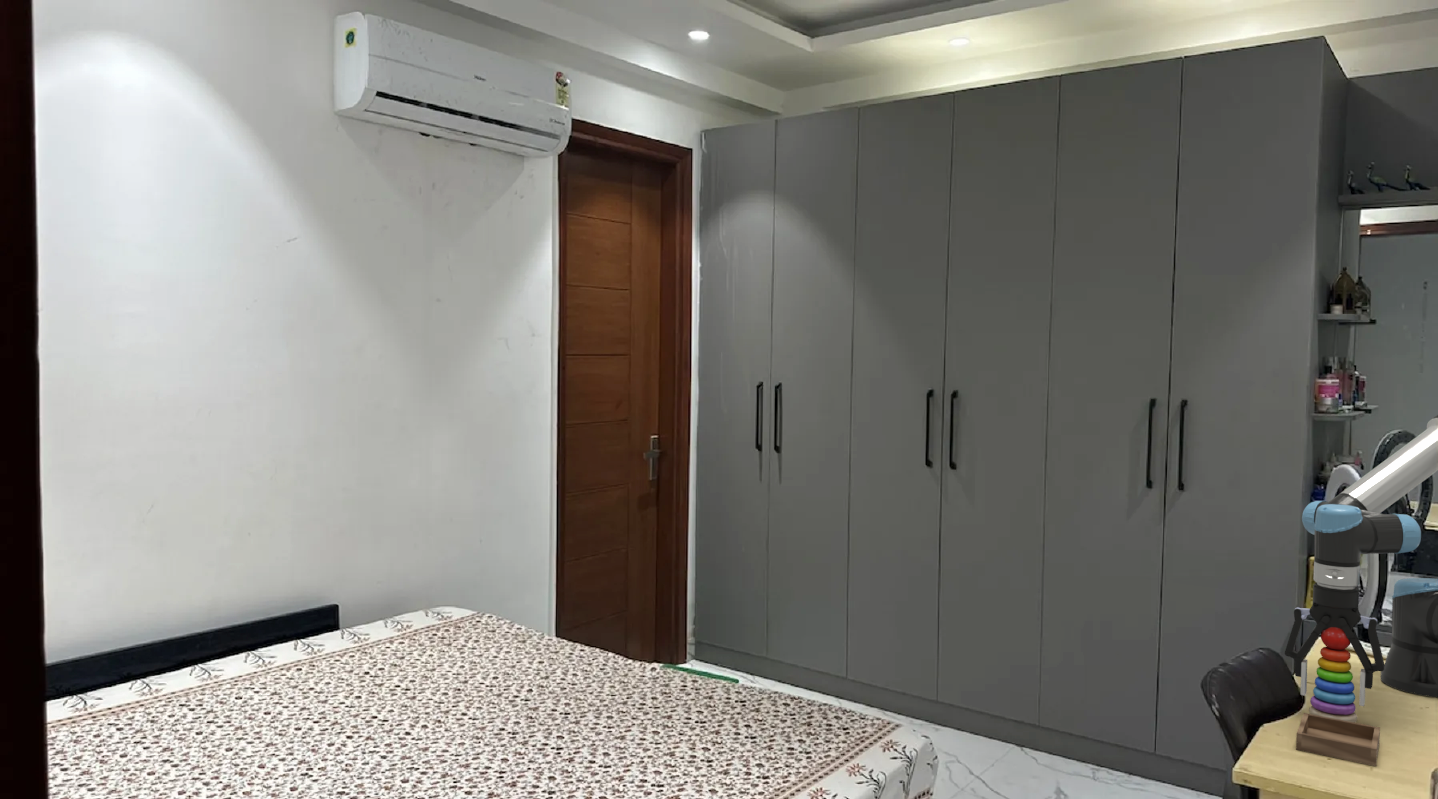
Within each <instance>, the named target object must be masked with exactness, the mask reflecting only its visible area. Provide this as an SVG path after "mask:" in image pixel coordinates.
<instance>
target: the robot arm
mask: <svg viewBox="0 0 1438 799" xmlns="http://www.w3.org/2000/svg"><path fill="white" fill-rule="evenodd" d="M1437 472H1438V414H1437V415H1436V416H1433V418H1431V419H1429V421H1428V422H1427V424H1426V429H1425V430H1424V431H1423V432H1421V433H1419V435H1417V436H1416V437H1414V438H1413V439H1411V441H1409V442H1407V443H1406V444H1405V445H1404V446H1402V447H1401V448H1400V449H1398V450H1397V451H1395V452H1394V453H1393V454H1392V455H1390V456H1389V457H1387V458H1386V459H1385V460H1384V461H1382V462H1381V463H1380V464H1378V465H1376V466H1375V467H1374V468H1372V469H1371V470H1370V471H1369V472H1367V473H1366V474H1365V475H1363V476H1362V477H1361V478H1358V480H1356V481H1355V482H1353V483H1352V484H1351V485H1350V486H1348V487H1347V488H1345V489H1344V490H1343V491H1341V492H1340V493H1339V494H1338V495H1336V496H1335V497H1333V498H1332V499H1331V500H1329V501H1326V500H1315V501H1311V502H1310V503H1308V504H1307V505H1306V506H1305V507H1304V509H1303V512H1302V516H1301V521H1302V525H1303V527H1304V529H1305V530H1306V531H1307V532H1308V533H1310V534H1312V535H1314V559H1313V581H1314V582H1315V583H1314V584H1313V586H1312V589H1313V590H1312V605H1311V606H1310V608H1302V607H1301V606H1296V607H1295V608H1294V611H1293V616H1294V621H1293V625H1292V629H1291V632H1290V634H1289V638H1288V641H1287V645H1286V646H1285V647H1286V648H1285V650H1284V655H1285V656H1286V657H1289V658H1292V659H1293V660H1294V675H1295V677H1297V678H1300V695H1301V696H1306V695H1307V691H1308V690H1307V686H1308V683H1307V681H1308V659H1307V658H1305V659H1304V657H1306V655H1307V653H1308V652H1309V651H1310V649H1311V647H1312V646H1313V645H1314V643H1315V642H1316V640H1317V639H1318V637H1319V636H1321V632H1322V630H1326V629H1328V628H1331V627H1336V628H1340V629H1342V630H1343V631H1344V632H1345V634H1346V636H1347V638H1348V639H1349V641H1350V645H1351V646H1352V648H1353V650H1354V652H1355V654H1356V656H1357V658H1358V660H1359V662H1360V663H1361V665H1362V668H1360V673H1359V674H1360V676H1359V702H1358V705H1359V706H1361V707H1365V703H1366V689H1368V690H1371V689H1372V688H1373V681H1374V680H1373V679H1374V676H1373V675H1374V673H1376V672H1380V681H1381V682H1382V683H1384V684H1385V685H1387V686H1389V687H1390V688H1392V689H1393V688H1394V689H1396V690H1398V691H1403V692H1406V693H1409V694H1413V695H1418V696H1425V697H1433V698H1438V578H1433V577H1432V578H1431V577H1430V578H1429V577H1427V578H1426V577H1410V578H1409V577H1408V578H1401V579H1398V580H1397V581H1396V582H1395V583H1394V586H1393V593H1392V596H1391V597H1392V608H1391V609H1392V612H1391V613H1392V614H1391V616H1392V617H1391V646H1390V648H1389V651H1388V653H1387V656H1386V658H1385V661H1384V656H1383V653H1382V649H1381V645H1380V640H1379V636H1378V632H1377V625H1378V618H1377V617H1375V616H1371V617H1369V616H1364V615H1362V614H1361V613H1360V610H1359V604H1360V603H1359V602H1360V599H1359V597H1360V589H1358V586H1359V585H1360V575H1361V574H1360V572H1361V570H1360V569H1361V555H1371V554H1372V555H1373V554H1374V555H1377V554H1395V555H1397V554H1401V553H1402V554H1403V553H1409V552H1413V551H1415V550H1416V549H1417V548H1418V547H1419V545H1420V544H1421V538H1422V531H1421V527H1420V525H1419V523H1418V522H1417V520H1416V519H1415V518H1413V517H1412V516H1410V515H1408V514H1406V513H1405V514H1403V513H1401V514H1399V513H1390V514H1389V513H1388V514H1386V513H1382V512H1384V511H1385V510H1387V508H1389V507H1391V505H1393V504H1394V503H1396V502H1397V501H1399V500H1400V499H1401V498H1403V497H1404V496H1406V495H1407V494H1408V493H1409V492H1411V491H1412V490H1414V489H1415V488H1417V487H1418V486H1419V485H1420V484H1421V483H1423V482H1424V481H1426V480H1427V479H1429V478H1430V477H1431V476H1432V475H1434V474H1435V473H1437ZM1309 615H1310V616H1311V618H1312V619H1313V620H1314V621H1315V623H1316V625H1315V626H1314V628H1313V629H1312V631H1311V633H1310V634H1309V635H1308V637H1307V638H1306V640H1305V641H1304V643H1303V644H1302V645H1301V646H1300V648H1299V649H1298V651H1296V650H1295V646H1296V643H1297V640H1298V637H1299V635H1300V631H1301V628H1302V625H1303V621H1305V620H1306V619H1307V617H1308V616H1309ZM1359 622H1361V623H1362V624H1363V628H1364V629H1367V634H1368V639H1369V643H1370V648H1371V651H1372V655H1373V659H1374V663H1372V661H1371V660H1370V657H1369V655H1368V654H1367V652H1366V650H1365V648H1364V646H1363V644H1362V643H1361V640H1360V639H1359V637H1358V635H1357V632H1356V631H1355V629H1354V628H1355V627H1356V626H1357V625H1358V624H1359Z"/></svg>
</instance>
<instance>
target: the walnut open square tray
mask: <svg viewBox="0 0 1438 799" xmlns="http://www.w3.org/2000/svg"><path fill="white" fill-rule="evenodd" d="M1380 734H1381V727H1379V726H1374V725H1369V724H1365V723H1359V722H1355V723H1354V722H1349V721H1344V720H1339V719H1333V718H1328V717H1323V716H1318V715H1313V714H1310V713H1306V712H1303V715H1302V718H1301V721H1300V723H1299V726H1298V728H1297V731H1296V736H1295V737H1296V741H1295V745H1296V746H1295V749H1296V750H1297V751H1302V752H1306V753H1311V754H1316V755H1320V756H1326V757H1330V758H1335V759H1339V760H1345V761H1348V762H1349V761H1350V762H1354V763H1359V764H1363V765H1368V766H1373V767H1377V762H1378V755H1379V749H1380V742H1381V740H1380V737H1381V736H1380Z"/></svg>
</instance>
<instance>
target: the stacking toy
mask: <svg viewBox="0 0 1438 799" xmlns="http://www.w3.org/2000/svg"><path fill="white" fill-rule="evenodd" d="M1320 639H1321V642H1322V643H1323V644H1324V646H1323V647H1321V649H1320V651H1319V652H1320V655H1321V657H1319V658H1318V660H1317V665H1318V667H1317V668H1316V675H1317V676H1316V677H1315V679H1314V684H1315V687H1314V688H1313V690H1312V692H1313V696H1311V698H1310V704H1311V706H1310V707H1309V710H1308V711H1309V714H1313V715H1318V716H1323V717H1328V718H1333V719H1339V720H1344V721H1349V722H1354V723H1357V721H1358V715H1357V714H1356V712H1355V711H1356V704H1355V703H1354V702H1355V701H1356V694H1355V693H1354V690H1355V685H1354V683H1353V678H1354V674H1353V673H1352V672H1351V671H1350V670H1352V664H1351V663H1350V659H1351V656H1352V655H1351V652H1350V651H1349V650H1347V648H1348V647H1349V646H1350V645H1351V643H1350V641H1349V639H1348V638H1347V636H1346V634H1345V632H1344V631H1343V630H1342V629H1340V628H1336V627H1331V628H1328V629H1326V630H1322V632H1321V633H1320Z"/></svg>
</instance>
